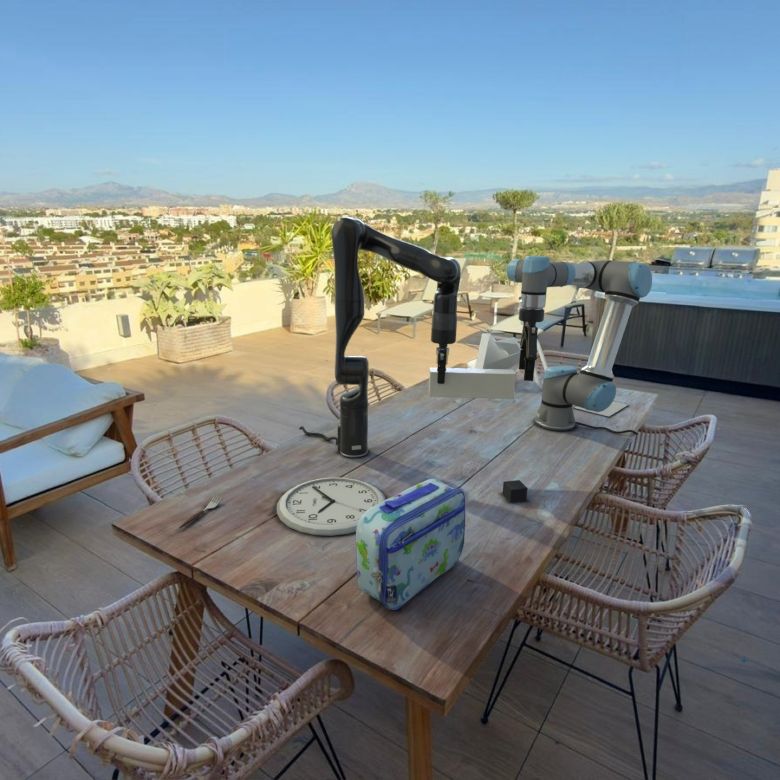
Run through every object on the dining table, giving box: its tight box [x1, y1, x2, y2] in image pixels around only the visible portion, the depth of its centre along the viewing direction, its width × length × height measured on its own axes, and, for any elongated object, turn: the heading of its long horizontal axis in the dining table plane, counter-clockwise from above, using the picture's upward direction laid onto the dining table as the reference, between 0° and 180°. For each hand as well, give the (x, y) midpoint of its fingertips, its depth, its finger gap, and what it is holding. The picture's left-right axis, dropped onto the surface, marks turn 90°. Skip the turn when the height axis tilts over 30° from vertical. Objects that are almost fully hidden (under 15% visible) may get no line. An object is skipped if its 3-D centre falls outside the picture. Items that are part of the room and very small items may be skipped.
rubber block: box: [502, 479, 528, 503], centre depth 148 cm, size 5×5×4 cm
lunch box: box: [355, 478, 466, 611], centre depth 110 cm, size 26×11×21 cm, turn 134°
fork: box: [178, 493, 223, 529], centre depth 137 cm, size 3×16×2 cm, turn 160°
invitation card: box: [573, 400, 629, 418], centre depth 226 cm, size 21×1×15 cm
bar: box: [428, 367, 517, 400], centre depth 162 cm, size 26×5×8 cm, turn 88°
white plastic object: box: [466, 306, 549, 390], centre depth 259 cm, size 37×45×31 cm
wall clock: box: [276, 476, 387, 537], centre depth 142 cm, size 30×2×30 cm
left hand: (441, 380), depth 162 cm, fingers closed on bar, 5 cm apart
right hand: (525, 374), depth 166 cm, fingers open, 13 cm apart
